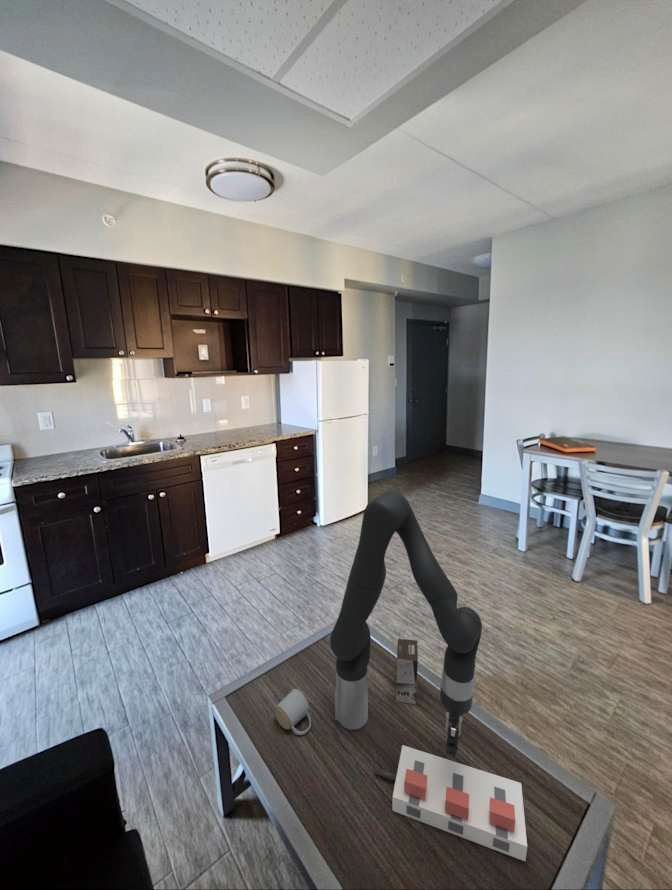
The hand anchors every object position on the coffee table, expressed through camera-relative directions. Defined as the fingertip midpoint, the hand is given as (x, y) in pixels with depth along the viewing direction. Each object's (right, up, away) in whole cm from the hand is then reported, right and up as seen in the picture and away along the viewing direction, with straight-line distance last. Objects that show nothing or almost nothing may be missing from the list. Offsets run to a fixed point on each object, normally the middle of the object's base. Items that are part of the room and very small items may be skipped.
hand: (451, 737), depth 97 cm
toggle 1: (-10, -9, -5) cm, 14 cm away
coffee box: (-6, -6, +27) cm, 29 cm away
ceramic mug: (-42, -9, +18) cm, 46 cm away
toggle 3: (+8, -10, -11) cm, 17 cm away
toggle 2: (-2, -9, -9) cm, 13 cm away
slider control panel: (-3, -13, -3) cm, 14 cm away
